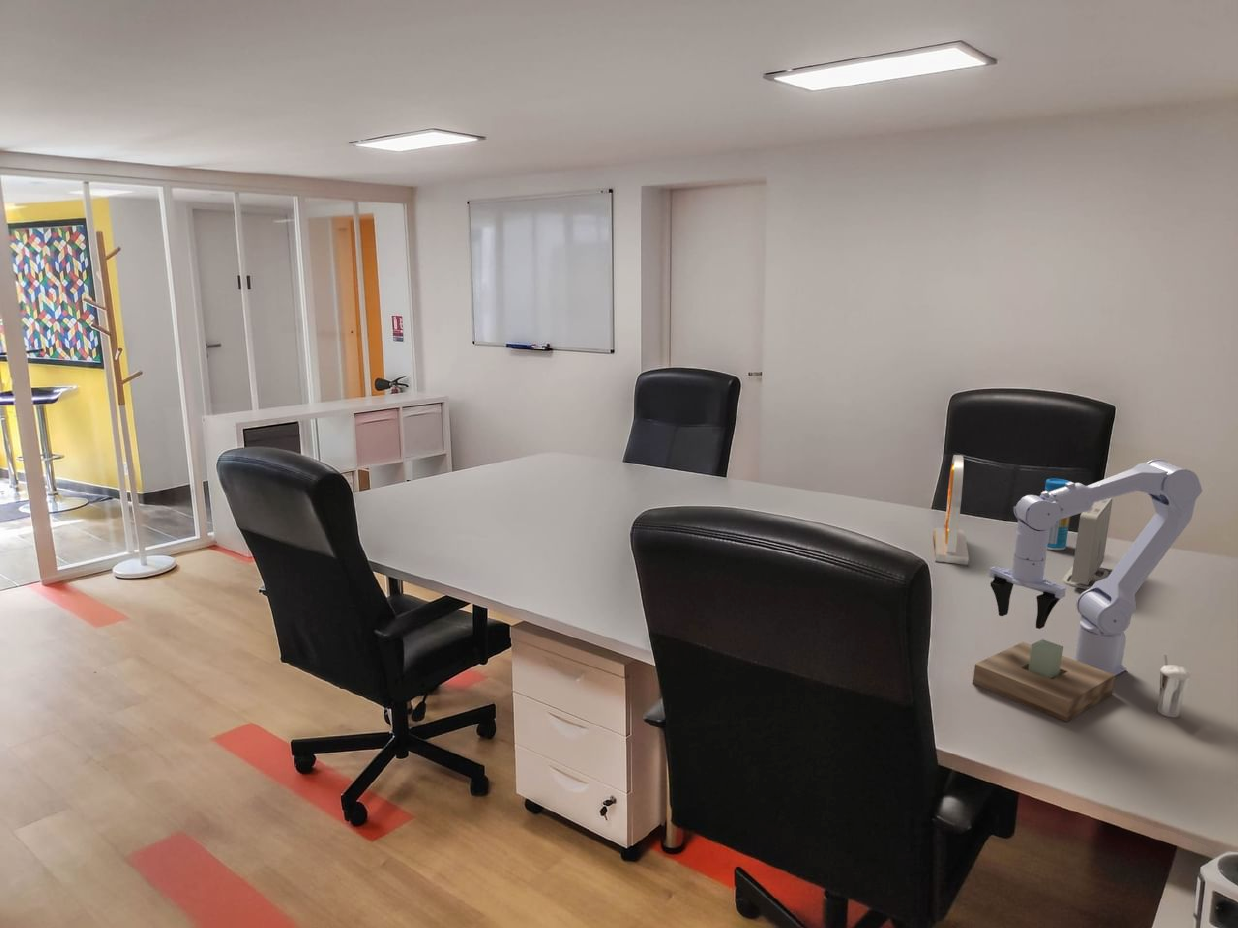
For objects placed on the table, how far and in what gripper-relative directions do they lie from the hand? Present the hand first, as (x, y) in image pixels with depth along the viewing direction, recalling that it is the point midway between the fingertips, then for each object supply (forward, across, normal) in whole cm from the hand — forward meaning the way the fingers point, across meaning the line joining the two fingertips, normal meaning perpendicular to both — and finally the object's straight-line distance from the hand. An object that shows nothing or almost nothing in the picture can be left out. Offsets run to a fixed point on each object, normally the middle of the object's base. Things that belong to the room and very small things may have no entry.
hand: (1021, 620), depth 171 cm
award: (+10, -52, +59) cm, 79 cm away
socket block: (+10, +8, -5) cm, 14 cm away
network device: (+10, -17, +67) cm, 70 cm away
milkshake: (+10, +26, +5) cm, 28 cm away
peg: (+9, +8, -5) cm, 13 cm away
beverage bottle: (+10, -36, +86) cm, 94 cm away
